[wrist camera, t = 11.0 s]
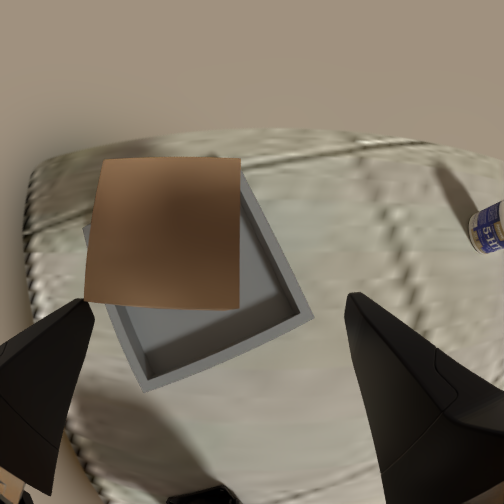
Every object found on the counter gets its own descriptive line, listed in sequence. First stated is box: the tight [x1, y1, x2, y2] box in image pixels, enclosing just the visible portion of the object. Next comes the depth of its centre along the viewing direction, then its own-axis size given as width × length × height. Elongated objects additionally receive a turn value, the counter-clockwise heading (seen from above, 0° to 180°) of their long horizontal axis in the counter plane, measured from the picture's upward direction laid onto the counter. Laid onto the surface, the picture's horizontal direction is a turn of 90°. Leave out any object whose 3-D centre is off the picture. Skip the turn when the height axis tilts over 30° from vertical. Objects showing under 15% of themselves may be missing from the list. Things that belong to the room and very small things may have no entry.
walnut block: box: [84, 157, 241, 311], centre depth 16 cm, size 6×6×13 cm
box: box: [82, 171, 315, 393], centre depth 21 cm, size 14×14×3 cm
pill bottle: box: [469, 200, 504, 254], centre depth 22 cm, size 5×5×9 cm
